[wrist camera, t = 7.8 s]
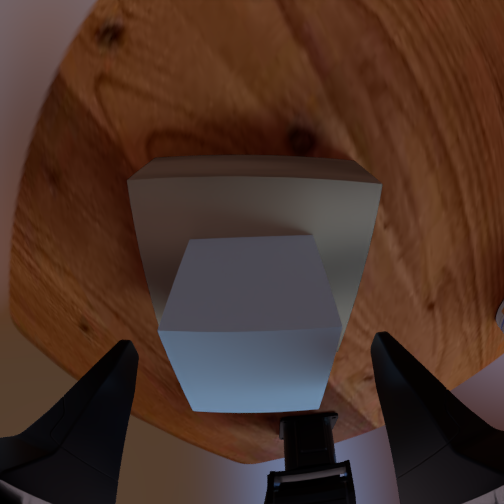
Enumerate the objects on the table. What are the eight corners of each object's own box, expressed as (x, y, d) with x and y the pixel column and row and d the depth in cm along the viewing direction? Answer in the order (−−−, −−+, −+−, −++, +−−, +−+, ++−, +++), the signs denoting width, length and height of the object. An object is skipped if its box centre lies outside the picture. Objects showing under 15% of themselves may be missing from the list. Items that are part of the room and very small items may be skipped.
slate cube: (304, 321, 14) (318, 408, 10) (206, 324, 14) (193, 411, 10) (312, 234, 11) (342, 326, 7) (189, 239, 12) (157, 330, 7)
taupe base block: (326, 306, 19) (337, 351, 15) (179, 303, 19) (166, 349, 16) (352, 158, 14) (382, 184, 10) (157, 156, 14) (126, 180, 10)
